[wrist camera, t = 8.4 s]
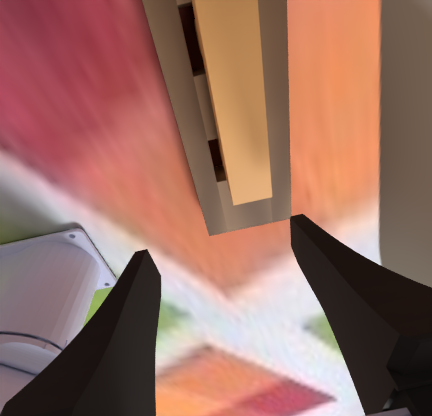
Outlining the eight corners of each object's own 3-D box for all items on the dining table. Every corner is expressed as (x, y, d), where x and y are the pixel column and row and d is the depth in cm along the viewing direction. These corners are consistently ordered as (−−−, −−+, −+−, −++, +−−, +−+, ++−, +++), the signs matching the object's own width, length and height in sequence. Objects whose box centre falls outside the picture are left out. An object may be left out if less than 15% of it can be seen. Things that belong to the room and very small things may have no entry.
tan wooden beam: (222, 162, 20) (233, 205, 15) (190, 5, 14) (193, -7, 9) (251, 156, 20) (272, 197, 15) (231, -5, 14) (256, -22, 9)
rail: (207, 217, 23) (209, 236, 21) (114, -117, 12) (99, -149, 9) (282, 201, 23) (291, 218, 21) (265, -157, 11) (282, -198, 9)
